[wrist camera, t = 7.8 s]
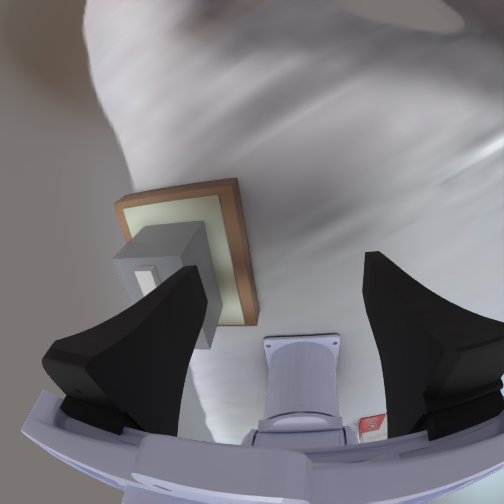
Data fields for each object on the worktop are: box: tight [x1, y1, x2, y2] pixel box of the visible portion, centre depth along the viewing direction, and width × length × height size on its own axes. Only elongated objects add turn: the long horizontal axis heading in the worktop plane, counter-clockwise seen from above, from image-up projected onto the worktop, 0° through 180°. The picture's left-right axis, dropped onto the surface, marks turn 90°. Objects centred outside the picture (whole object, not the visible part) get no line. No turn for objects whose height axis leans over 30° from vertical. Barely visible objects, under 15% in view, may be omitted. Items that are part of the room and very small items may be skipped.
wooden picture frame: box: [114, 178, 259, 326], centre depth 23 cm, size 13×10×2 cm
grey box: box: [113, 220, 223, 350], centre depth 20 cm, size 5×8×6 cm, turn 7°
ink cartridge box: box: [359, 414, 387, 443], centre depth 30 cm, size 9×5×15 cm, turn 102°
